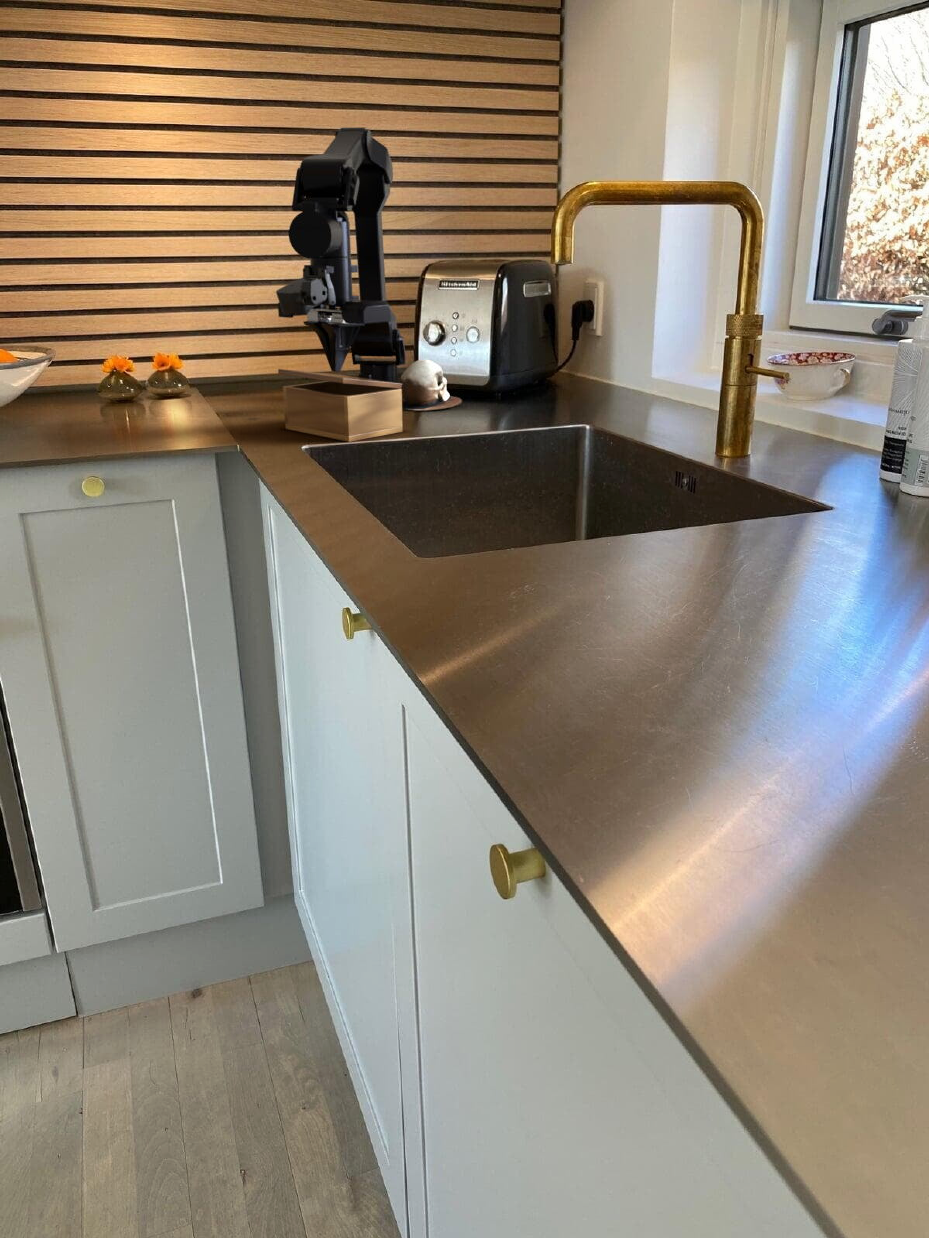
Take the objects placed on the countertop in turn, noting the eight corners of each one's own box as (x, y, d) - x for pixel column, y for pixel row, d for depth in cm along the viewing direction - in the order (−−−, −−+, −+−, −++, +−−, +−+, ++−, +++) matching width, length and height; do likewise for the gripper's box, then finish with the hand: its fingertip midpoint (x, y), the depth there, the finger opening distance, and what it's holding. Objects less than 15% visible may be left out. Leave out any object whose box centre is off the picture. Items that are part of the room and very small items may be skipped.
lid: (342, 383, 130) (343, 378, 130) (277, 373, 139) (278, 369, 139) (401, 388, 138) (402, 383, 138) (336, 379, 147) (337, 374, 147)
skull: (419, 390, 171) (449, 350, 164) (451, 434, 169) (482, 395, 162) (373, 396, 162) (402, 353, 156) (405, 442, 160) (436, 401, 154)
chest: (349, 442, 133) (347, 397, 131) (285, 428, 142) (282, 386, 140) (402, 431, 141) (401, 388, 138) (339, 419, 150) (337, 379, 147)
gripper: (243, 257, 132) (252, 371, 138) (329, 259, 120) (335, 383, 126) (305, 256, 140) (312, 364, 146) (392, 258, 128) (395, 375, 134)
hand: (336, 371), depth 138 cm, fingers closed
